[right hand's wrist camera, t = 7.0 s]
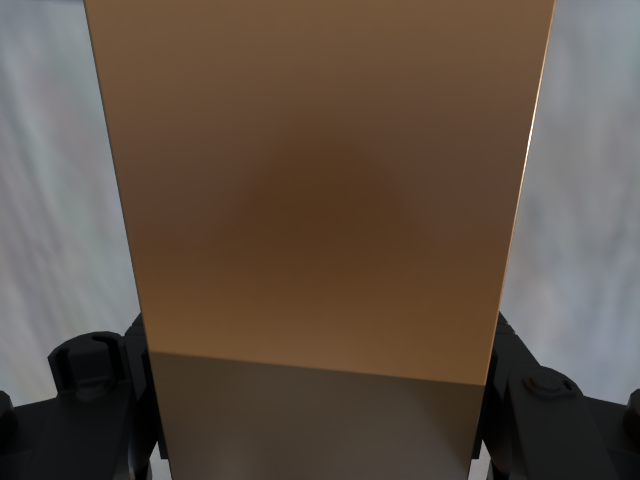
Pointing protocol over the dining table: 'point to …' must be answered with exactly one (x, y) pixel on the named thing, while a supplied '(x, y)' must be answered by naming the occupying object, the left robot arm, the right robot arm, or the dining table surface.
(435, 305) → the bar
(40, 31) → the dining table surface
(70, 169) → the dining table surface
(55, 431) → the right robot arm
